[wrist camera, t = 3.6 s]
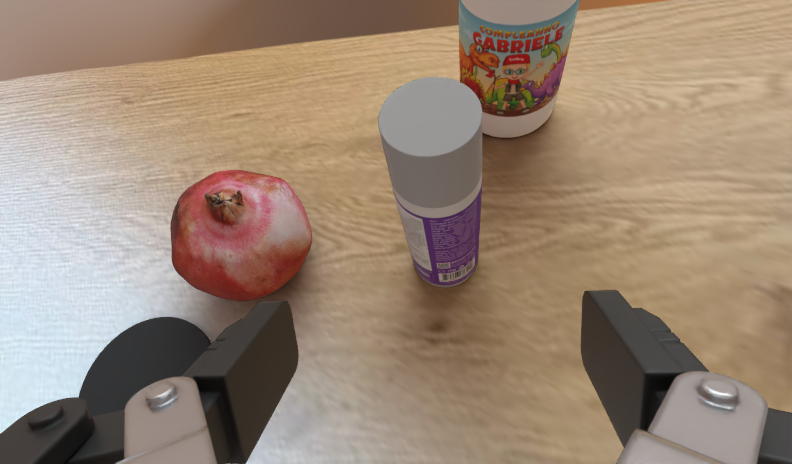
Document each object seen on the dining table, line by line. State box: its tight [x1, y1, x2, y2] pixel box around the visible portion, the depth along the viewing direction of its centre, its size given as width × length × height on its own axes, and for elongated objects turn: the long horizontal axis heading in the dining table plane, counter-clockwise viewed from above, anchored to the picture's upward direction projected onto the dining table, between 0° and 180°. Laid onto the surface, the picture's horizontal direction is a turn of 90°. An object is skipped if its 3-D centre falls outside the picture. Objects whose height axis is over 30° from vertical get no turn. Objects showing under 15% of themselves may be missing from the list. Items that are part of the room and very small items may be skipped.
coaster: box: [79, 317, 211, 416], centre depth 30 cm, size 10×10×1 cm
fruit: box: [171, 170, 312, 301], centre depth 30 cm, size 9×10×10 cm
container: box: [378, 77, 482, 288], centre depth 25 cm, size 5×5×15 cm
